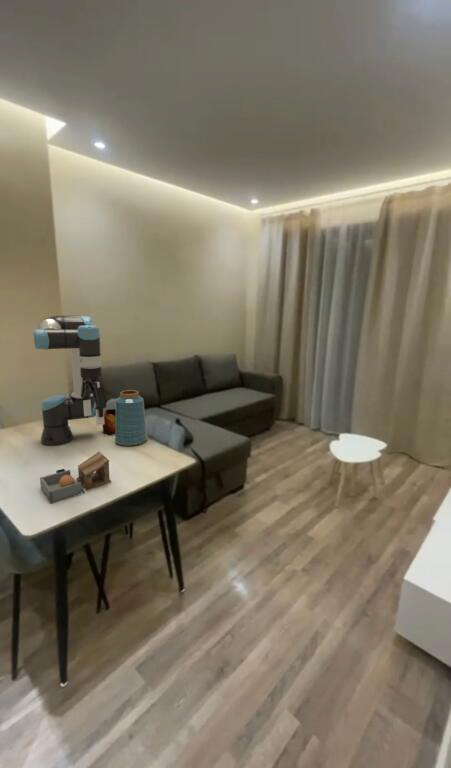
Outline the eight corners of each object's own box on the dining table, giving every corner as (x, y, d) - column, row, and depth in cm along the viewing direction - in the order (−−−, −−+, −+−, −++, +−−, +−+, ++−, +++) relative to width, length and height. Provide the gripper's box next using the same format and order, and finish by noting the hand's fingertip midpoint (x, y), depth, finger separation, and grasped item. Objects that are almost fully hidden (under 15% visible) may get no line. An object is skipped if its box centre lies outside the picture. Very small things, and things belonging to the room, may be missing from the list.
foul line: (71, 479, 140) (71, 479, 140) (73, 478, 141) (73, 478, 141) (83, 493, 130) (83, 493, 130) (85, 492, 130) (85, 492, 130)
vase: (121, 435, 190) (118, 388, 185) (150, 436, 190) (149, 388, 184) (110, 446, 174) (107, 395, 169) (142, 447, 174) (140, 396, 168)
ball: (59, 487, 133) (55, 476, 131) (72, 480, 136) (69, 470, 134) (63, 493, 129) (59, 482, 128) (76, 486, 132) (73, 476, 130)
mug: (130, 432, 195) (129, 412, 192) (105, 436, 188) (103, 415, 185) (126, 427, 203) (125, 407, 200) (101, 430, 196) (100, 410, 194)
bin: (41, 488, 133) (40, 477, 132) (70, 479, 140) (69, 469, 139) (50, 503, 123) (49, 492, 122) (81, 493, 130) (80, 482, 129)
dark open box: (56, 476, 143) (56, 470, 142) (64, 474, 144) (63, 468, 144) (58, 479, 140) (58, 473, 140) (66, 476, 142) (66, 471, 142)
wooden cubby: (76, 479, 140) (75, 456, 138) (101, 472, 147) (99, 450, 144) (86, 490, 132) (84, 466, 130) (111, 482, 138) (110, 459, 136)
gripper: (70, 362, 137) (73, 413, 142) (92, 373, 119) (96, 431, 123) (89, 361, 142) (92, 410, 147) (113, 371, 124) (116, 426, 128)
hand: (94, 420), depth 135 cm, fingers open, 13 cm apart
